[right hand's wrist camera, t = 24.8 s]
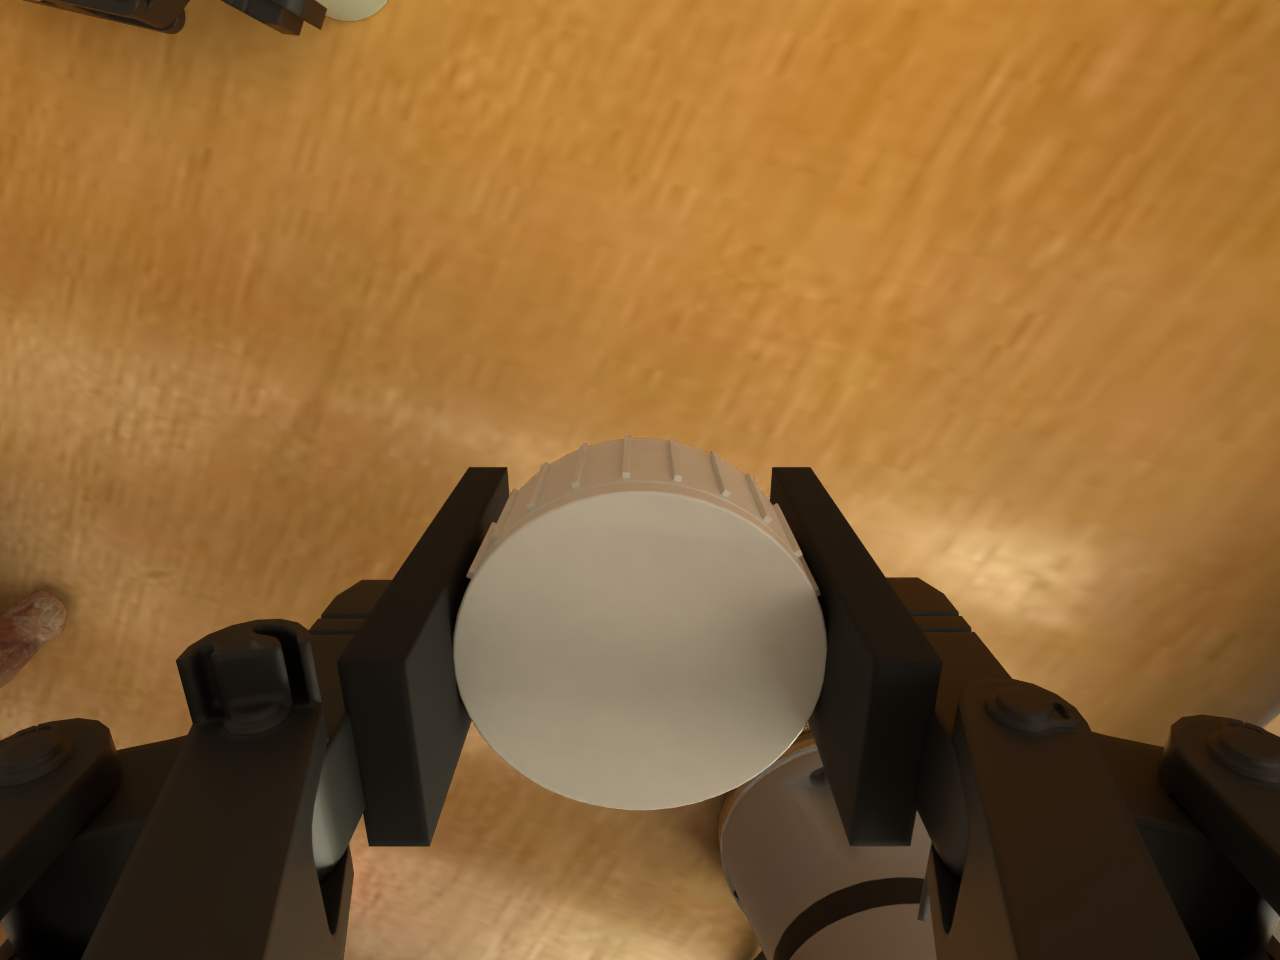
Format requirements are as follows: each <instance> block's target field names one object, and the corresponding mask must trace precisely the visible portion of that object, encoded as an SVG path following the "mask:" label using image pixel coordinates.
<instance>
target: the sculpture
mask: <svg viewBox="0 0 1280 960" xmlns="http://www.w3.org/2000/svg"><path fill="white" fill-rule="evenodd" d="M66 620H67V610H66V609H65V607H64V606H63V604H62V603H61V601H60V599H58V598H56V597H54V596H53V595H51V594H49V593H48V592H45V591H37V592H34V593H32V594H31V595H29V596H28V597H26V598H25V599H23V600H22V601H21V602H20V603H18V604H17V605H16V606H14V607H12V608H10V609H8V610H6V611H4V612H3V613H1V614H0V687H2V686H3V685H5V684H6V683H8V682H9V681H10V680H12V679H13V678H14V677H15V675H16V674H17V673H18V672H19V671H20V670H21V669H22V668H23V667H24V665H25V664H26V663H27V662H28V661H29V660H30V659H31V658H32V656H33V655H34V654H35V653H36V652H37V651H38V649H39V648H40V647H41V646H43V645H44V644H46V643H48V642H49V641H51V640H53V639H54V638H56V637H57V636H59V635H60V634H61V632H62V631H63V629H64V626H65V623H66Z"/></svg>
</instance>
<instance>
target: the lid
mask: <svg viewBox="0 0 1280 960" xmlns="http://www.w3.org/2000/svg"><path fill="white" fill-rule="evenodd" d="M466 577H468V578H470V579H471V581H470V583H469V585H468V587H467V589H466V591H465V594H464V596H463V599H462V602H461V605H460V607H459V610H458V613H457V618H456V623H455V628H454V633H453V660H454V669H455V678H456V681H457V685H458V689H459V692H460V696H461V699H462V701H463V703H464V705H465V708H466V710H467V712H468V715H469V717H470V718H471V720H472V721H473V723H474V725H475V726H476V728H477V730H478V731H479V733H480V734H481V735H482V737H483V738H484V739H485V740H486V742H487V743H488V744H489V745H490V746H491V748H492V749H493V750H494V751H495V752H496V753H497V754H498V755H499V756H500V757H501V758H502V759H503V760H504V761H506V762H507V763H508V764H509V765H510V766H511V767H513V768H514V769H515V770H517V771H518V772H520V773H521V774H522V775H524V776H525V777H526V778H528V779H530V780H532V781H533V782H535V783H537V784H539V785H540V786H542V787H544V788H546V789H548V790H550V791H553V792H555V793H557V794H560V795H562V796H564V797H567V798H570V799H573V800H577V801H580V802H583V803H586V804H591V805H596V806H601V807H606V808H615V809H625V810H656V809H665V808H674V807H679V806H684V805H689V804H693V803H697V802H701V801H704V800H707V799H710V798H713V797H716V796H719V795H721V794H723V793H725V792H727V791H730V790H732V789H734V788H736V787H738V786H740V785H742V784H743V783H745V782H747V781H749V780H750V779H752V778H754V777H755V776H757V775H758V774H759V773H761V772H762V771H763V770H765V769H766V768H767V767H769V766H770V765H771V764H773V763H774V762H775V761H776V760H777V759H778V758H779V757H780V756H781V755H782V754H783V753H784V752H785V751H786V750H787V749H788V748H789V747H790V746H791V744H792V743H793V742H794V741H795V739H796V738H797V737H798V736H799V734H800V733H801V732H802V730H803V729H804V727H805V725H806V724H807V722H808V720H809V718H810V717H811V715H812V713H813V711H814V709H815V706H816V704H817V701H818V699H819V697H820V694H821V690H822V686H823V682H824V674H825V665H826V655H827V631H826V626H825V621H824V617H823V612H822V609H821V606H820V604H819V601H818V598H817V596H820V591H819V588H818V586H817V584H816V582H815V580H814V578H813V576H812V574H811V572H810V570H809V568H808V566H807V564H806V562H805V559H804V557H803V554H802V552H801V550H800V548H799V546H798V544H797V542H796V540H795V538H794V536H793V533H792V531H791V529H790V527H789V525H788V523H787V521H786V519H785V517H784V515H783V513H782V511H781V509H780V507H779V505H778V504H777V503H776V504H774V505H772V504H771V502H770V501H769V500H768V498H767V497H766V496H765V494H764V493H763V492H762V491H761V490H760V489H759V488H758V486H757V484H756V481H755V479H754V477H753V476H752V475H751V474H750V473H748V474H747V475H744V474H743V473H742V472H740V471H739V470H738V469H736V468H735V467H734V466H732V465H731V464H729V463H727V462H726V461H724V460H722V459H720V458H719V455H718V453H717V452H715V451H712V452H711V453H708V452H706V451H703V450H701V449H698V448H695V447H693V446H689V445H685V444H681V443H677V442H676V439H675V438H669V441H667V440H658V439H631V435H628V436H624V439H622V440H614V441H607V442H603V443H599V444H595V445H591V446H588V445H587V443H586V444H583V445H581V446H580V450H577V451H575V452H572V453H570V454H567V455H565V456H563V457H562V458H560V459H558V460H556V461H555V462H553V463H551V464H548V462H545V463H544V464H542V466H541V468H540V471H539V473H537V474H536V475H535V476H533V477H532V478H531V479H530V480H529V481H528V482H527V483H526V484H525V485H524V486H523V487H522V488H521V489H520V490H519V491H517V490H516V489H514V490H513V491H512V492H511V494H510V496H509V498H508V500H507V502H506V505H505V507H504V509H503V511H502V513H501V515H500V517H499V520H498V522H497V524H496V523H494V522H492V524H491V526H490V528H489V530H488V532H487V534H486V536H485V538H484V540H483V542H482V544H481V546H480V548H479V550H478V553H477V555H476V557H475V559H474V561H473V563H472V565H471V567H470V569H469V571H468V573H467V576H466Z"/></svg>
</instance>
